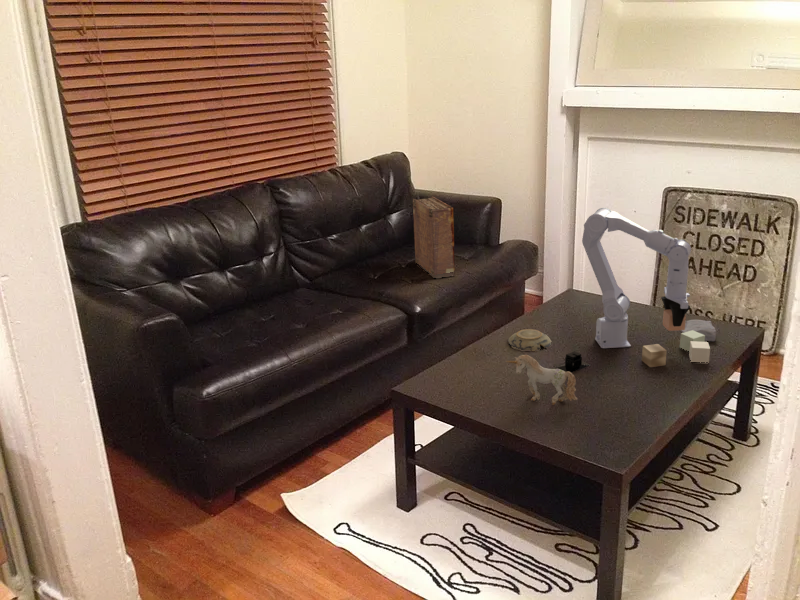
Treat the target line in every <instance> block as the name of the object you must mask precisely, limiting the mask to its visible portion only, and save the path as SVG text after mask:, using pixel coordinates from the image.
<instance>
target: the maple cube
mask: <svg viewBox="0 0 800 600" xmlns="http://www.w3.org/2000/svg"><path fill="white" fill-rule="evenodd" d="M667 353H668V352H667V349H666V348H665V347H663V346H662V345H660V344H659V343H656V344H655V343H654V344H647V345H642V352H641V362H642V363H644V364H645V365H647V366H648V367H649V368H655V367H663V366H666V362H667Z"/></svg>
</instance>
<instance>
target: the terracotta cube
mask: <svg viewBox="0 0 800 600" xmlns="http://www.w3.org/2000/svg"><path fill="white" fill-rule="evenodd" d="M662 313H663V314H662V326H664V328H665V329H666V330H667V331H669V332H672V331H682V330H685V321H687V320H686V319H687V313H686V314H685V316H684V319H683V321H682V324H681V326H673V317H672V311H671V309H669V310H665V309H663V312H662Z"/></svg>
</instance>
